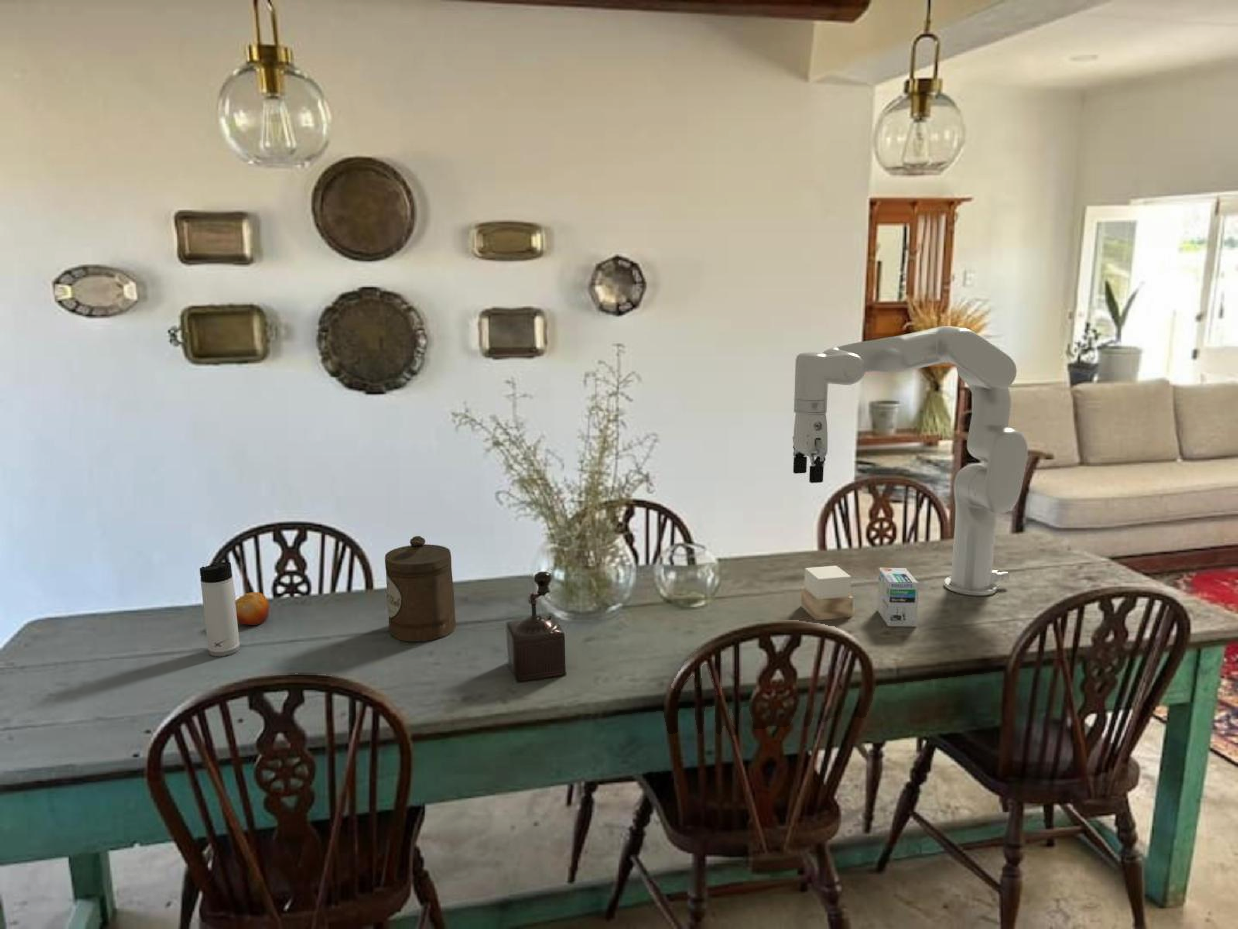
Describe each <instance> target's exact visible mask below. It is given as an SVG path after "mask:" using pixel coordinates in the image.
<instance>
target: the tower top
mask: <svg viewBox="0 0 1238 929" xmlns="http://www.w3.org/2000/svg"><path fill="white" fill-rule="evenodd" d="M803 581H804V582H803V583H804V584H803V587H804V588H805V589H806V590H807V591H808V592H810V593H811V594H812V595H813V596H814V597H816V598H817V599H818V600H819V599H830V598H842V597H850V596H851V588H852V587H851V584H852V583H851V582H852V576H851V575H850V574H848V573H847V572H846V571H844V570H843V569H841V568H840V567H839V566H837V565H828V566H814V567H805V568H804V580H803Z"/></svg>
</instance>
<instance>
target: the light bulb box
mask: <svg viewBox="0 0 1238 929" xmlns="http://www.w3.org/2000/svg"><path fill="white" fill-rule="evenodd" d="M877 587H878V590H877V605H876V606H877V608H876V610H877V612H878V614H880V616H881V618H882V620H883V621H884V622H885V624H886V626H887V627H914V628H915V627H917V618H918V601H919V587H920V582H919V581H918V580H917V579H916V578H915V577H914V576H913V575H912V574H911V573H910V571H909V570H908V568H907V567H879V568H878V586H877Z"/></svg>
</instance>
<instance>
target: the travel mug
mask: <svg viewBox="0 0 1238 929" xmlns="http://www.w3.org/2000/svg"><path fill="white" fill-rule="evenodd" d="M199 576H200V586H201V594H202V606H203V614H204V623H205V632H206V641H207V642H206V643H207V649H208V655H210V656H212V657H216V656H222V657H226V655H228V656H231V655H233V654H236V653H238V652H239V650H240V649H241V646H240V645H241V644H240V637H239V635H240V634H239V628H238V627H239V625H238V621H237V615H236V606H235V601H236V596H235V589H234V587H235V586H234V578H233V573H232V563H231V561H220V562H216V563H215V562H214V563H210V564H209V565H207V566H201V567H200V568H199ZM230 654H231V655H230Z"/></svg>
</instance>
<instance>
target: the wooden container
mask: <svg viewBox="0 0 1238 929" xmlns="http://www.w3.org/2000/svg"><path fill="white" fill-rule="evenodd" d="M409 544H410V545H405V546H401V547H397V548H394V549H391V550H389V551H388V552H387V553H385V555H384V567H385V577H386V579H385V580H386V582H385V583H386V601H387V612H388V613H387V615H388V625H389V626H388V627H389V633H390V635H391V637H393V638H394V639H397V640H400V641H404V642H413V643H415V642H416V643H417V642H428V641H434V640H437V639H441V638H444V637H446V636H448V635H450V634H451V633H453V631H455V630H456V627H457V625H456V622H457V621H456V608H455V606H456V605H455V592H454V584H453V583H454V582H453V580H454V579H453V569H452V555H451V550H450V548H448V547H446V546H443V545H438V544H426V540H425V538H424V537H422V536H420V535H415V536H413V537H412V538H410V540H409Z"/></svg>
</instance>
